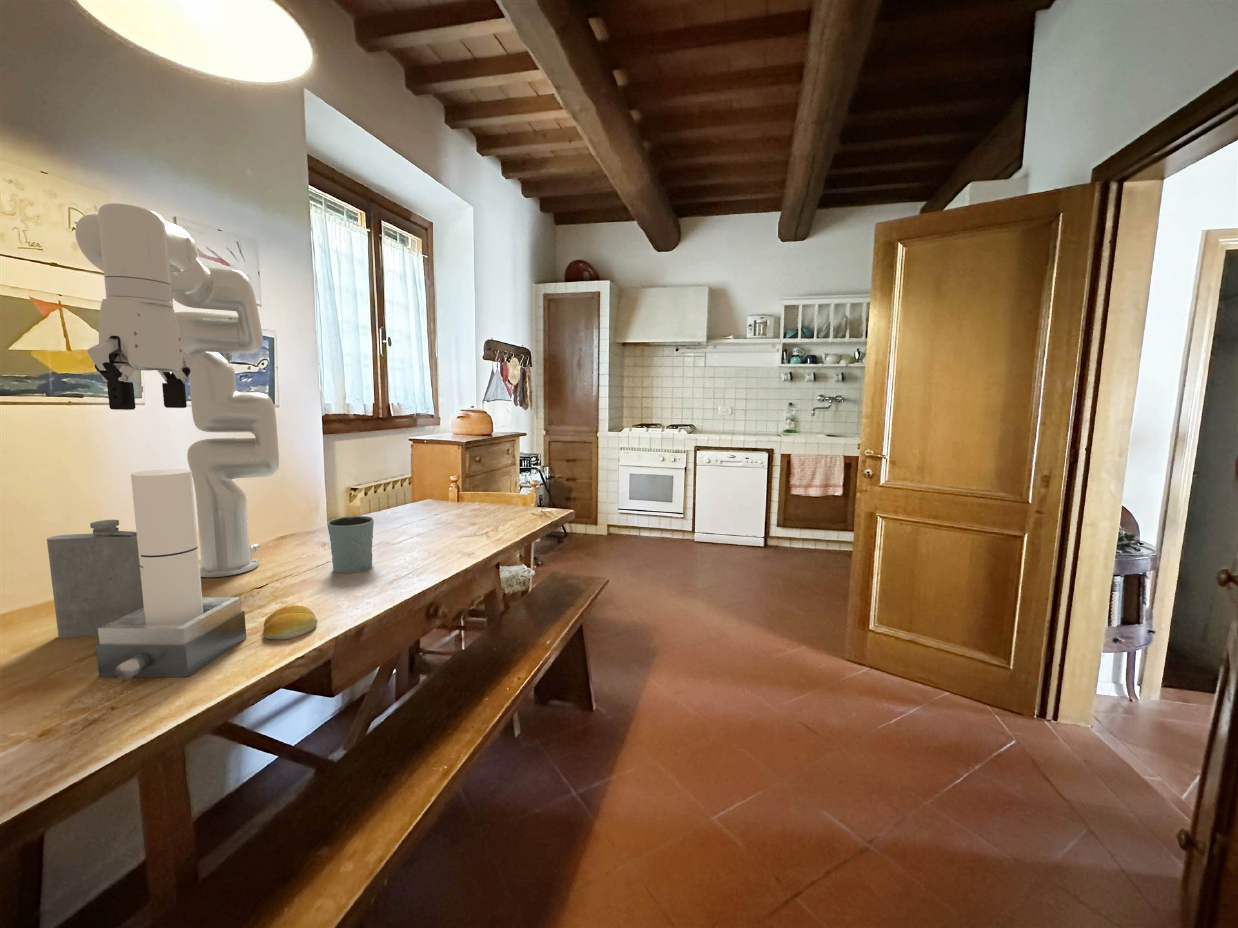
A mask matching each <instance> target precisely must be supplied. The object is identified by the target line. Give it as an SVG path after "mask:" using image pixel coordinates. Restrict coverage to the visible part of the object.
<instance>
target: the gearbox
mask: <svg viewBox="0 0 1238 928" xmlns="http://www.w3.org/2000/svg"><path fill="white" fill-rule="evenodd" d="M202 602H203V614H202V615H200V616H198V617H196V618H194V619H192V620H190V621H189V622H187V623H185V624H183V625H146V624H145V614H144V608H141V609H139V610H137V611H135V612H133V613H130V614H128V615H126V616H124V617H122V618H119V619H117V620H115V621H113V622H111V623H108V624H106V625H104V626H102V627H100V628H98V634H99V635H98V641H99V642H98V643H97V644H96V645H95V650H96V659H97V660H96V661H97V670H98V677H99V678H119V679H121V680H124V681H125V680H130V679H131V678H189V677H191V676H192V675H194V674H195V673H196V672H198V671H200V670H202V669H203V668H205V667H206V666H207V665H209V664H210V663H212V662H213V661H215V660H216V659H217V658H220V657H221V656H222V655H224V654H225V653H226V652H228V651H230V650H231V649H233V648H234V647H236V646H237V645H239V644H240V643H241V642H243V641H244V640H246V639H247V629H246V628H247V627H246V616H245V613H246V612H245V610H242V600H241V597H237V596H236V597H235V596H234V597H232V596H231V597H228V596H227V597H226V596H225V597H222V596H221V597H220V596H219V597H217V596H216V597H215V596H214V597H212V596H208V597H205V596H202Z"/></svg>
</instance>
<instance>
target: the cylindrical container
mask: <svg viewBox="0 0 1238 928" xmlns="http://www.w3.org/2000/svg"><path fill="white" fill-rule="evenodd" d="M130 478H131V479H130V480H131V489H132V490H131V491H132V498H133V499H132V500H133V512H134V520H135V532H137V542H138V553H139V563H140V573H141V583H142V593H143V604H144V614H145V624H146V625H183V624H185V623H187V622H189V621H190V620H192V619H194V618H196V617H198V616H200V615H202V614H203V602H202V597H203V593H202V592H203V591H202V590H203V589H202V582H201V581H202V579H201V578H202V577H200V566H199V565H200V556H199V555H200V554H199V544H198V532H197V531H198V530H197V523H196V521H197V519H196V507H195V498H194V497H195V496H194V494H195V493H194V482H193V478H192V471H191V470H190V469H186V468H184V469H183V468H180V469H178V468H177V469H176V468H175V469H155V470H154V469H153V470H144V471H136V472H132V473H130Z"/></svg>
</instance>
